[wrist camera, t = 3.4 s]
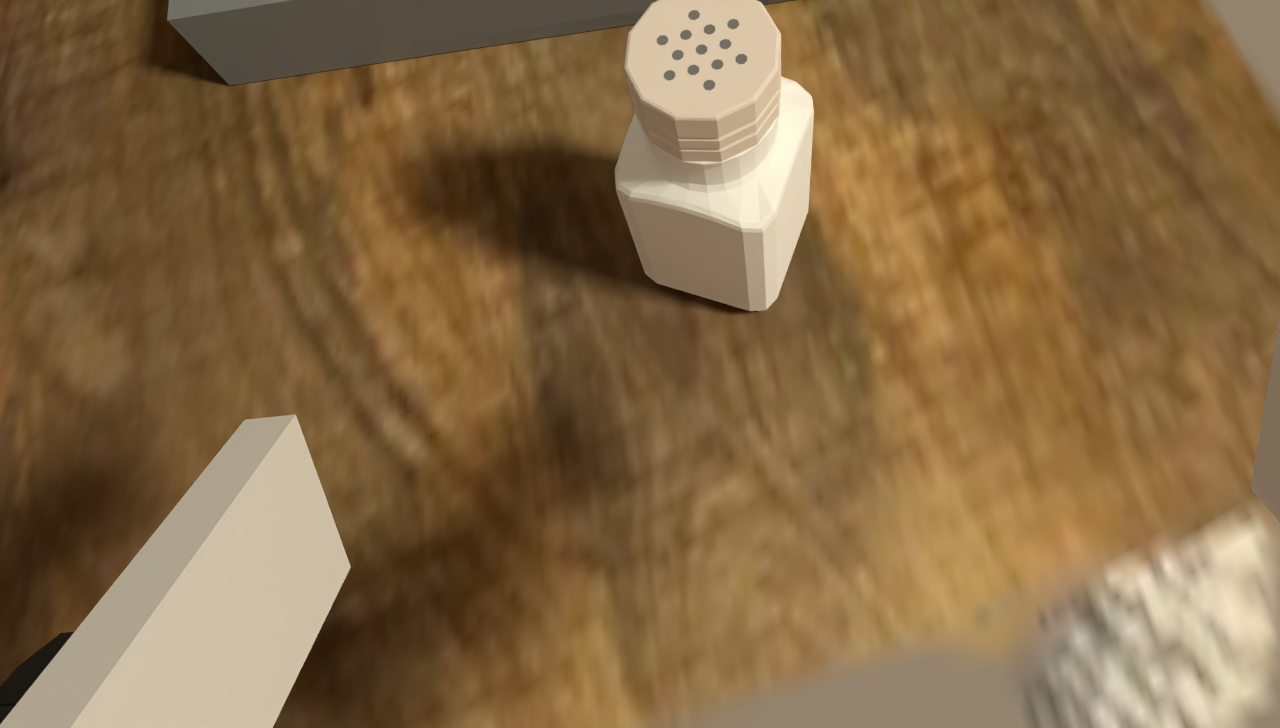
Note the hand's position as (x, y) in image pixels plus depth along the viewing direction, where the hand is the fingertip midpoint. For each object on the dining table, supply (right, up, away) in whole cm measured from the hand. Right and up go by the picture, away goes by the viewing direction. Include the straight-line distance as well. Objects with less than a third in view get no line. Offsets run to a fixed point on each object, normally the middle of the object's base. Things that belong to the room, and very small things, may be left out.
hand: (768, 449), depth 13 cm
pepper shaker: (+1, +5, +15) cm, 16 cm away
